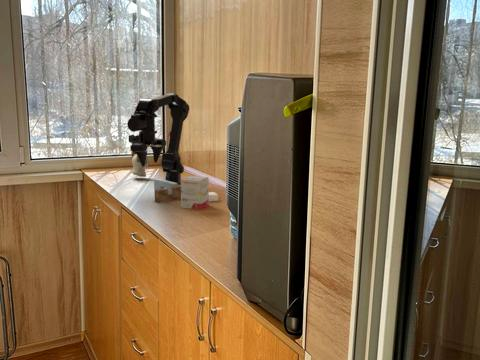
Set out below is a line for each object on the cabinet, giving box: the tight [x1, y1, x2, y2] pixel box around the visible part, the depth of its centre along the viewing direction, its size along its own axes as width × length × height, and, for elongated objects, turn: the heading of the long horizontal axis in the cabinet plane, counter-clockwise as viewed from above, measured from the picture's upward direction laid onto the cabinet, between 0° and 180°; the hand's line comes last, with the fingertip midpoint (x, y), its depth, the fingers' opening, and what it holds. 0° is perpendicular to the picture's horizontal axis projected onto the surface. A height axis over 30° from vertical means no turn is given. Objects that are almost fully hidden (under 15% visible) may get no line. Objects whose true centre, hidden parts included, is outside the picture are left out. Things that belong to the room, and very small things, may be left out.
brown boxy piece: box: [154, 184, 181, 204], centre depth 201 cm, size 14×2×5 cm, turn 139°
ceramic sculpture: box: [130, 151, 150, 178], centre depth 241 cm, size 11×9×15 cm
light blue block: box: [153, 178, 179, 193], centre depth 213 cm, size 2×13×5 cm, turn 48°
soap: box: [209, 191, 219, 202], centre depth 202 cm, size 9×6×3 cm, turn 109°
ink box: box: [180, 175, 210, 210], centre depth 191 cm, size 9×9×12 cm
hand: (149, 164), depth 213 cm, fingers open, 9 cm apart
